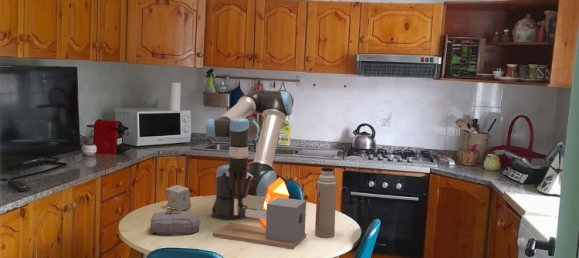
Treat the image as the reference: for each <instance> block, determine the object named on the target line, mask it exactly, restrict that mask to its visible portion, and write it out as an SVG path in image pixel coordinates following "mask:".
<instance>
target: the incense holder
mask: <svg viewBox="0 0 579 258" xmlns="http://www.w3.org/2000/svg"><path fill="white" fill-rule="evenodd" d="M164 192H165V194H166V195H167V203H166V208H167V207H170V209H172V208H174V209H177V210H179V211H181V210H182V211H184V210H186V209H190V208H191V207H192V203H191V194H190V188H189V187H185V186H182V185H179V184H176V185H173V186H170V187H167V188H165V189H164ZM174 209H173V210H174ZM177 210H176V211H177Z"/></svg>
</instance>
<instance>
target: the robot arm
mask: <svg viewBox="0 0 579 258" xmlns="http://www.w3.org/2000/svg"><path fill="white" fill-rule="evenodd" d="M292 113H293V100H292V95H291V93H290V92H289V91H285V90H284V91H282V90H269V89H268V90H265V89H264V90H263V89H258V90H254V91H251V92H248V93H246V94H245V95H244V94H243V96H241V97H240V98H239V99H238V100H237V102H236V104H235V105H233V106H232V107H231V108H229V110H227V111H226V112H224V113H223V114H222V115H221V116H220V117H219V118H209V119H208V120H207V121H206V123H205V129H204V130H205V133H206V135H207V136H208V137H212V138H220V139H221V138H224V139H229V147H228V148H229V150H228V152H229V153H228V154H229V158H228V164H225V165H220V166H218V167H217V169H216V175H215V178H216V179H215V183H216V184H215V189H216V190H215V201H214V203H213V205H212V209H211V217H213V218H214V219H219V220H227V221H228V220H239V219H242V217H240V216H239V209H240V207H241V205H244V202H243V199H245V198H247V197H248V196H252V197H253V196H255V197H259V198H261V197H265V198H266V195H267V191H268V187H270V186H271V185H272V184H273V183H274V182H275V181H276V178H277V176H276V175H277V173H276V172H275V168H274V167H273V163H274V159H275V153H276V149H277V145H278V140H279V136H280V132H281V128H282V124H283V123H284V122H285V121H286V120H287V117H291V115H292ZM254 114H259V115H260V114H261V115H262V117H263V123H262V127H261V128H260V126H259V124H258V123H257V122H256V121H254V120H249V119H248V118H247V117H248V116H252V115H254ZM260 130H261V131H260ZM259 133H260V134H259ZM258 136H259V139H258V142H257V145H256V150H255V155H254V158H253V161H251V162H250V163H249V158H248V157H249V140H253V139H255V138H256V137H258Z"/></svg>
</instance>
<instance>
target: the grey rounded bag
mask: <svg viewBox="0 0 579 258" xmlns="http://www.w3.org/2000/svg"><path fill="white" fill-rule="evenodd" d="M200 225H201V220H200V218H199V216H198V215H196V214H195V213H193V212H190V211H184V210H182V211H177V210H174V209H171V210H165V211H159V212H155V213H153V214H152V216H151V219H150V231H151V234H153V233H159V234H158V235H160V234H183V235H189V234H193V233H197V232H198V231H199V229H200V228H199V227H200Z"/></svg>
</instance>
